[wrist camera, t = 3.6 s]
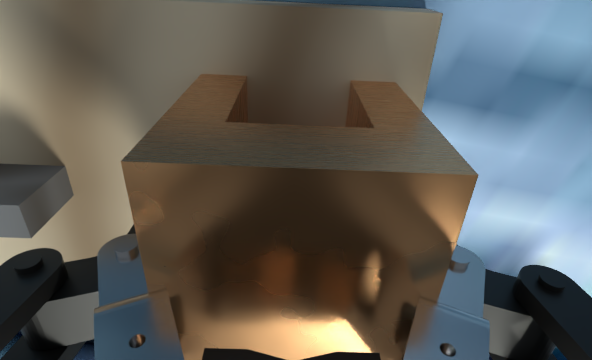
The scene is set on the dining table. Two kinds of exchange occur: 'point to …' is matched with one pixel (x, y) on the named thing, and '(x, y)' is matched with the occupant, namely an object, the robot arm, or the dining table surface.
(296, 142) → the cardboard box
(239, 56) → the board
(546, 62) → the dining table surface
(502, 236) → the dining table surface
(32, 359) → the robot arm
